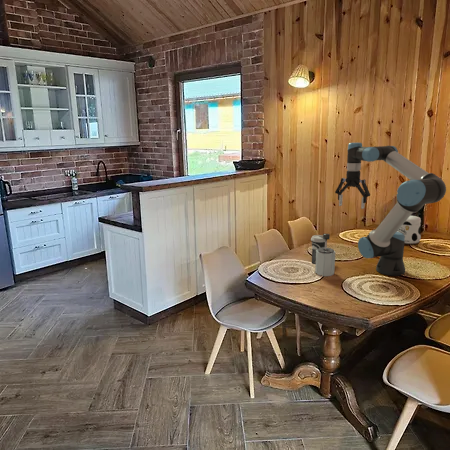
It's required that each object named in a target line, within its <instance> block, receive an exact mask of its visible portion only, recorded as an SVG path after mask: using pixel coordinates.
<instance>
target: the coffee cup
mask: <svg viewBox="0 0 450 450" xmlns="http://www.w3.org/2000/svg"><path fill="white" fill-rule="evenodd" d="M310 241H311V250H312V249H318V248H322V247H325V239H323V234H321V235H320V234H315V235H312V236H311V238H310ZM315 262H316V252H315Z"/></svg>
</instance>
